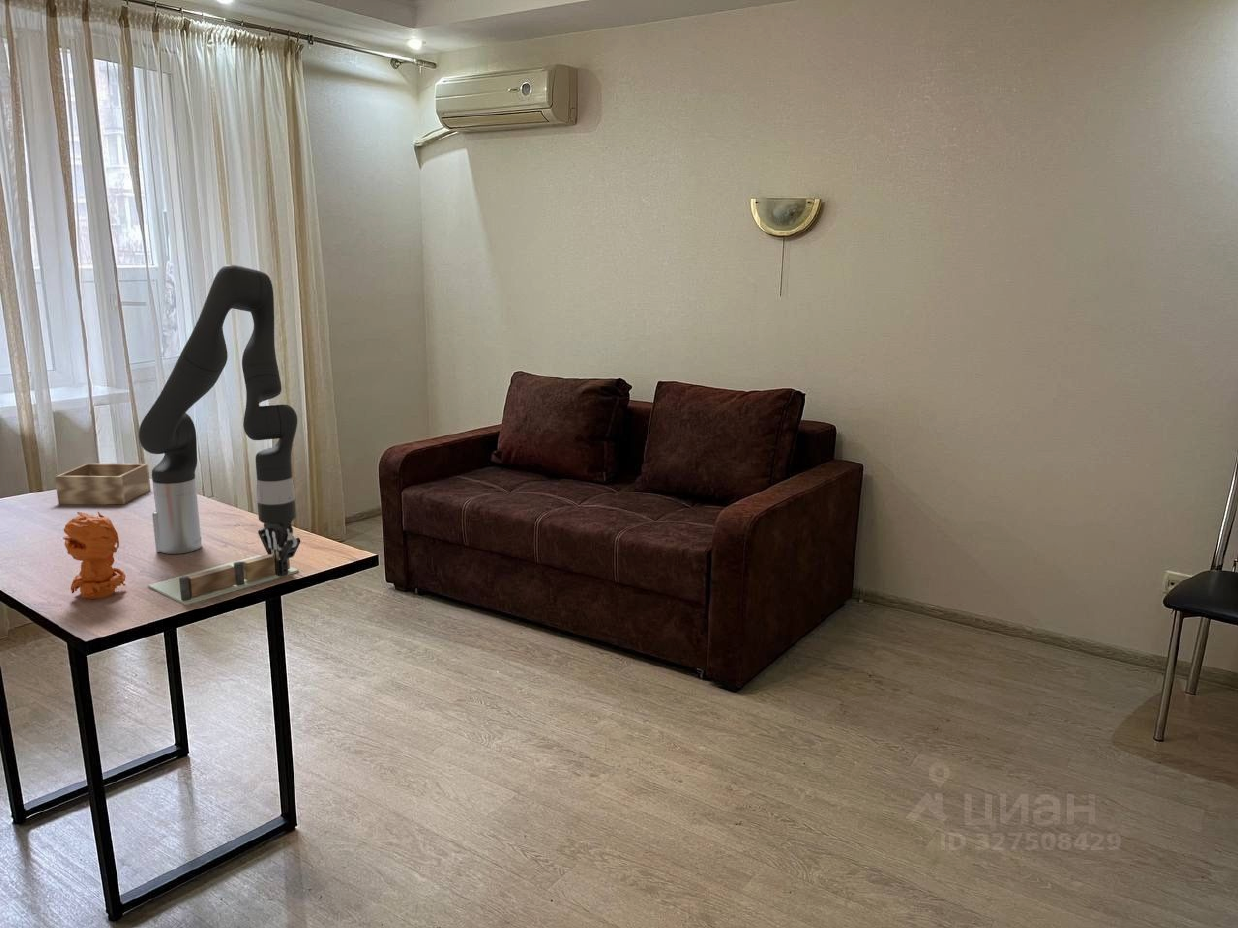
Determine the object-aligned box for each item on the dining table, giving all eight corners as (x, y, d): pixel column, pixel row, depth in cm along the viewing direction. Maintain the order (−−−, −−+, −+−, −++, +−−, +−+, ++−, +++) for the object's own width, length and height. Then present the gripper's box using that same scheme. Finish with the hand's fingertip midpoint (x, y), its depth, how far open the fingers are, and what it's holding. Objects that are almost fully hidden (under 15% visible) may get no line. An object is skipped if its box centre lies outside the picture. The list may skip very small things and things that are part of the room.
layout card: (185, 605, 188) (185, 602, 188) (148, 587, 198) (147, 584, 198) (298, 571, 208) (298, 569, 208) (259, 556, 218) (259, 554, 218)
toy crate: (58, 504, 259) (54, 476, 258) (89, 489, 275) (86, 463, 273) (123, 504, 260) (120, 477, 258) (150, 490, 275) (147, 463, 273)
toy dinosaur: (83, 584, 199) (73, 504, 195) (136, 583, 200) (126, 503, 196) (57, 604, 188) (45, 519, 184) (113, 603, 189) (102, 518, 185)
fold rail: (248, 580, 200) (247, 563, 199) (243, 578, 201) (242, 561, 200) (290, 568, 208) (288, 551, 207) (284, 566, 209) (283, 550, 208)
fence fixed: (184, 603, 189) (182, 579, 188) (179, 601, 190) (177, 577, 189) (246, 585, 200) (244, 562, 198) (241, 583, 201) (239, 560, 200)
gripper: (309, 500, 196) (314, 577, 200) (274, 489, 204) (280, 564, 207) (277, 507, 190) (283, 587, 194) (243, 496, 198) (249, 572, 202)
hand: (281, 575), depth 201 cm, fingers closed
